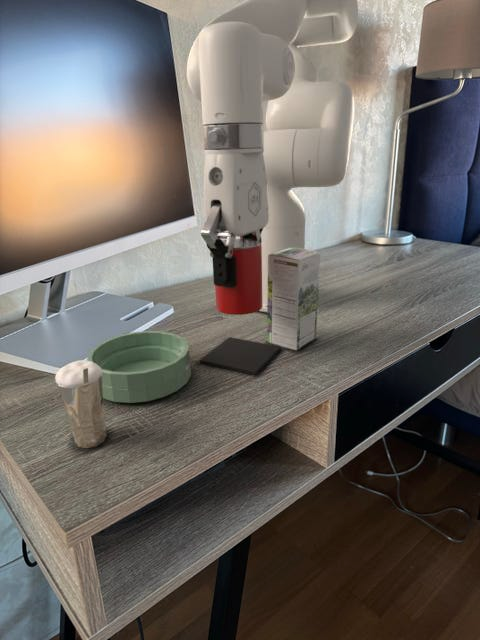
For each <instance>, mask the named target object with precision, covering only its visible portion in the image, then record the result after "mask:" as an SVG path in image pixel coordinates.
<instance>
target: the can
mask: <svg viewBox="0 0 480 640" xmlns="http://www.w3.org/2000/svg"><path fill="white" fill-rule="evenodd" d="M222 241H223V243H224V244H225V246H226V243H227V239H222ZM232 257H236V280H237V285H236V286H235V287H233V288H231V287H223V286H216V285H215V284H214V290H215V306H216V310H217V311H218V312H219V313H221V314H225V315H233V316H243V315H250V314H254V313H258V312H260V311H259V310H260V309H261V308H262V244H261V243H260V242H258V241H256V240H252V239H240V238H235V244H234V250H233V255H232Z"/></svg>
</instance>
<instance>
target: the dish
mask: <svg viewBox="0 0 480 640" xmlns="http://www.w3.org/2000/svg"><path fill="white" fill-rule="evenodd" d="M86 361H91V362H94V363H96V364H97V365H98V366H99V367H100V368H101V370H102V383H103V399H104V400H107V401H110V402H113V403H126V404H135V403H144V402H151V401H154V400H159V399H162V398H164V397H167V396H170V395H171V394H173V393H175V392H177V391H179V390H181V389H182V388H183V387H184V386H185V385H187V384H188V382H189V380H190V378H191V376H192V366H191V355H190V345H189V341H188V340H186V338H184V337H183V336H181V335H179V334H176V333H174V332H168V331H163V330H162V331H161V330H144V331H133V332H129V333H125V334H120V335H117V336H116V335H115V336H114V337H111V338H108V339H106V340H104V341H102V342H100V343H98V344H97V345H95V346H94V347H93V348H92V349H91V350H89V352H88V355H87V357H86Z"/></svg>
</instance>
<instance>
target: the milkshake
mask: <svg viewBox="0 0 480 640" xmlns="http://www.w3.org/2000/svg"><path fill="white" fill-rule="evenodd" d="M54 378H55V383H56V386H57V389H58V392H59V395H60V398H61V400H62V403H63V406H64V410H65V411H66V412H65V414H66V417H67V420H68V422H69V423H68V424H69V426H70V429H71V433H72V437H73V439H74V442H75V443H76V445H77V447H79V448H83V449H90V448H94V447H95V448H96V447H98V446H99V445H101V444H102V443H104V442H105V441H106V439H107V434H108V433H107V423H106V412H105V401H104V400H105V399H103V383H102V370H101V368H100V367H99V366H98V365H97V364H96V363H94V362H91V361H87V360H84V359H82V360H76V361H72V362H69V363H68V364H66V365H64V366H62V367H61V368H59V369H58V371H57V372H56V374H55V376H54Z"/></svg>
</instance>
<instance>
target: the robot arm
mask: <svg viewBox="0 0 480 640" xmlns="http://www.w3.org/2000/svg"><path fill="white" fill-rule="evenodd" d="M358 18H359V3H358V0H243V1H241V2H239V3H238V4H236V5H235V6H233V7H231V8H230V9H227V10H226V11H224V12H222V13H221V14H219V15H217V16H216V17H214V18H213V19H211V20H209V21H208V22H207V23H206V24H205V25H204V26H203V27H202V29H201V31H200V32H199V33H198V35H197V37H196V39H195V40H194V41H193V43H192V46H191V47H190V51H189V54H188V57H187V63H186V79H187V84H188V86H189V89H190V91H191V93H192V94H193V96H194V97H195V98H196V99H197V100H198V101H200V102H201V117H202V137H203V152H204V154H203V155H205V157H204V171H203V211H204V214H203V215H204V223H203V225H202V228H201V231H200V235H201V238H202V239H203V241H204V242H205V244H206V248H207V249H208V250H209V256H210V257H212V274H213V275H212V276H213V284H214V286H215V285H216V286H223V287H231V288H233V287H235V286H236V285H237V280H236V257H232V255H233V250H234V244H235V239H237V238H236V237H239V239H252V240H256V241H258V242H260V243H261V244H262V308H261V309H260V310H259V311H258V312H262V313H267V314H268V255H270V254H273V253H276V252H278V251H281V250H284V249H287V248H302V249H306V246H305V245H306V212H305V211H306V210H305V208H304V205H303V203H302V202H301V200H300V199H299V198H298V197H297V195H296V193H294V191H293V190H292V189H297V188H330V187H335V186H337V185H339V184H341V183H342V182H343V180H344V179H345V177H346V174H347V170H348V167H349V159H350V151H351V144H352V143H351V142H352V135H353V127H354V120H355V98H354V93H353V91H352V89H351V86H349V85H348V84H347V83H346V82H343V81H341V80H328V81H327V80H326V81H319V71H318V67H317V66H316V64H315V63H314V62H313V61H312V59H311V58H310V57H309V56H308V55H307V54H306V53H305V52H304V51H303V50H301V49H300V48H302V47H303V48H305V47H313V46H322V45H331V44H332V45H333V44H341V43H345V42H347V41H348V40H350V39H351V38H352V37H353V35H354V34H355V32H356V29H357V24H358V21H359V19H358ZM267 101H268V102H267ZM264 102H267V105H266V112H265V128H266V129H267V130H266V131H264ZM223 240H227V243H226V246H225V244H224V243H223Z"/></svg>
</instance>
